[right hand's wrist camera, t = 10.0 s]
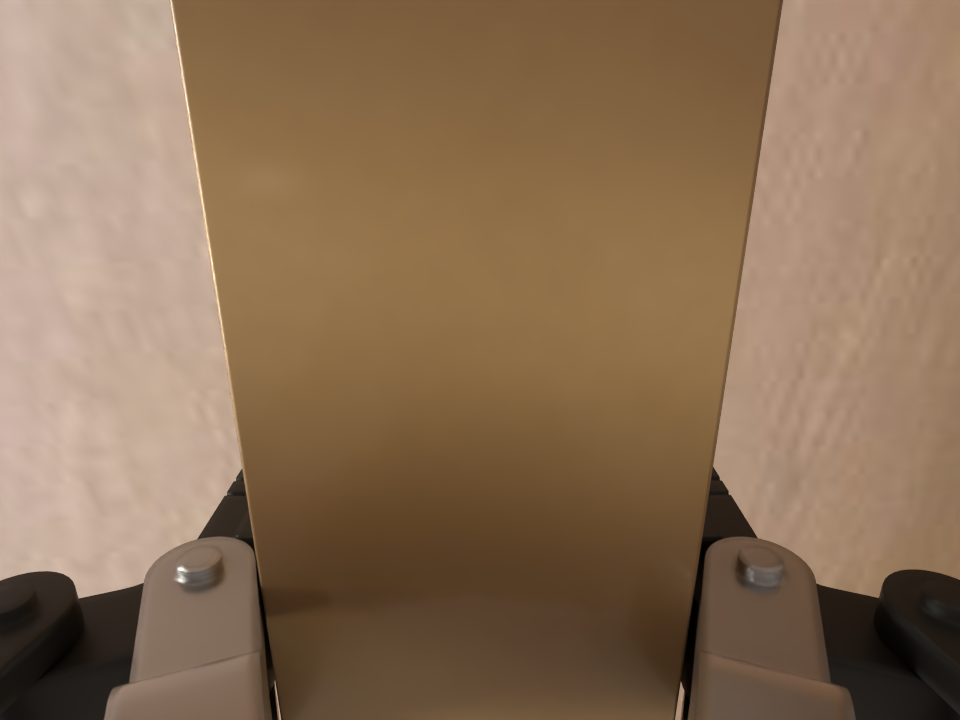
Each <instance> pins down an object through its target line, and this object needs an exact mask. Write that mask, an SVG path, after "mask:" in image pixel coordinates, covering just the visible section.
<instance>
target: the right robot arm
mask: <svg viewBox="0 0 960 720" xmlns="http://www.w3.org/2000/svg"><path fill="white" fill-rule="evenodd" d="M728 492H729V491H728V490H727V488H726V487H725V485H724V483H723V482H722V481H720V477H719V475H718V474H717V472H716V471H715V469H714V467H713V469H712V476H711V482H710V489H709V496H708V502H707V509H706V516H705V522H704V529H703V536H702V542H701V549H700V556H699V562H698V569H697V576H696V582H695V589H694V595H693V602H692V609H691V615H690V622H689V629H688V635H687V642H686V649H685V655H684V662H683V669H682V675H681V683H682V686H683V688H684V696H683V703H682V712H681V720H960V580H958V579H956V578H953V577H950V576H947V575H944V574H940V573H936V572H931V571H925V570H901V571H898V572H894V573H892V574H890V575H889V576H888V577H887V578H886V579H885V580H884V582H883V585H882V589H881V592H880V596H879V598H876V597H871V596H866V595H862V594H857V593H852V592H848V591H843V590H838V589H834V588H829V587H826V586H822V585H819V584H816V580H815V576H814V574H813V572H812V570H811V569H810V567H809V566H808V565H807V564H806V563H805V562H804V561H803V560H802V559H801V558H800V557H799V556H797V555H796V554H794V553H793V552H791V551H790V550H788V549H786V548H784V547H782V546H780V545H778V544H775V543H772V542H769V541H766V540H762V539H758V538H757V536H756V535H755V533H754V531H753V530H752V528H751V527H750V525H749V523H748V522H747V520H746V519H745V517H744V515H743V514H742V512H741V511H740V509H739V507H738V506H737V504H736V503H735V501H734V499H733V498H732V496H731V495H729V493H728ZM274 681H275V675H274V669H273V663H272V656H271V650H270V643H269V637H268V630H267V624H266V618H265V611H264V605H263V598H262V592H261V585H260V579H259V573H258V566H257V560H256V553H255V547H254V540H253V534H252V527H251V521H250V515H249V508H248V502H247V495H246V489H245V482H244V476H243V470H241V471H240V473H239V474H238V476H237V477H236V481H234V482H233V484H232V485H231V487H230V489H229V490H228V492H227V496H224V498H223V500H222V501H221V503H220V504H219V506H218V507H217V509H216V511H215V512H214V514H213V515H212V517H211V519H210V520H209V522H208V523H207V525H206V526H205V528H204V530H203V531H202V533H201V534H200V536H199V537H198V539H197V540H194V541H191V542H188V543H185V544H182V545H180V546H178V547H176V548H174V549H172V550H170V551H169V552H167V553H166V554H164V555H163V556H161V557H160V558H159V559H158V560H157V561H156V562H155V563H154V564H153V565H152V566H151V567H150V568H149V570H148V572H147V574H146V576H145V580H144V583H142V584H139V585H137V586H134V587H130V588H126V589H122V590H117V591H112V592H108V593H103V594H98V595H94V596H89V597H84V598H80V599H78V595H77V592H76V588H75V585H74V583H73V581H72V580H71V579H70V578H69V577H67V576H66V575H64V574H61V573H57V572H49V571H44V572H31V573H26V574H21V575H17V576H13V577H10V578H7V579H4V580H2V581H0V720H279V712H278V703H277V696H276V690H275V683H274Z"/></svg>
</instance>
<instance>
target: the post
mask: <svg viewBox="0 0 960 720" xmlns="http://www.w3.org/2000/svg"><path fill="white" fill-rule="evenodd" d="M782 3H783V0H170V6H171V13H172V19H173V26H174V32H175V38H176V45H177V51H178V58H179V64H180V71H181V77H182V84H183V90H184V96H185V103H186V109H187V116H188V122H189V129H190V135H191V141H192V148H193V154H194V161H195V167H196V174H197V180H198V186H199V193H200V199H201V206H202V212H203V219H204V225H205V232H206V238H207V244H208V251H209V257H210V264H211V270H212V277H213V283H214V289H215V296H216V302H217V309H218V315H219V322H220V328H221V334H222V341H223V347H224V354H225V360H226V367H227V373H228V379H229V386H230V392H231V399H232V405H233V412H234V418H235V425H236V431H237V437H238V444H239V450H240V457H241V463H242V470H243V476H244V482H245V489H246V495H247V502H248V508H249V515H250V521H251V527H252V534H253V540H254V547H255V553H256V560H257V566H258V573H259V579H260V585H261V592H262V598H263V605H264V611H265V618H266V624H267V630H268V637H269V643H270V650H271V656H272V663H273V669H274V675H275V682H276V688H277V695H278V701H279V708H280V714H281V720H675V715H676V709H677V702H678V695H679V689H680V682H681V675H682V669H683V662H684V655H685V649H686V642H687V635H688V629H689V622H690V615H691V609H692V602H693V595H694V589H695V582H696V576H697V569H698V562H699V556H700V549H701V542H702V536H703V529H704V522H705V516H706V509H707V502H708V496H709V489H710V482H711V476H712V469H713V462H714V456H715V449H716V442H717V436H718V429H719V423H720V416H721V409H722V403H723V396H724V389H725V383H726V376H727V369H728V363H729V356H730V349H731V343H732V336H733V329H734V323H735V316H736V309H737V303H738V296H739V289H740V283H741V276H742V269H743V263H744V256H745V250H746V243H747V236H748V230H749V223H750V216H751V210H752V203H753V196H754V190H755V183H756V176H757V170H758V163H759V156H760V150H761V143H762V136H763V130H764V123H765V116H766V110H767V103H768V96H769V90H770V83H771V77H772V70H773V63H774V57H775V50H776V43H777V37H778V30H779V23H780V17H781V10H782Z"/></svg>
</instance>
